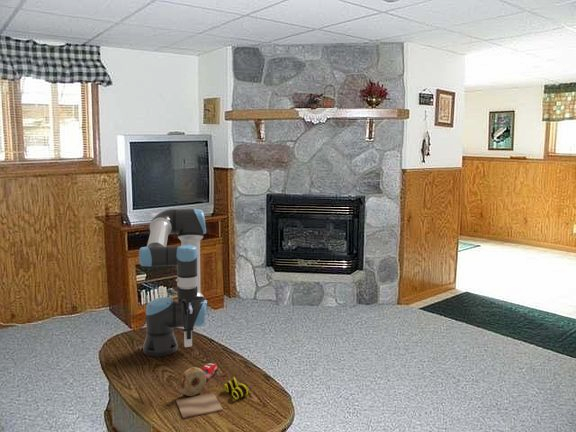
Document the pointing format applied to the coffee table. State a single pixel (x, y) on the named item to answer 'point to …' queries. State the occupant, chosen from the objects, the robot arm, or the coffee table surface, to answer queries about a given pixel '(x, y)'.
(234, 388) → the opera glasses
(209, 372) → the race car
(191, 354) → the coffee table surface
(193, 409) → the walnut board
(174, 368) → the coffee table surface
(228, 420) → the coffee table surface
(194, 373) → the stone disc
